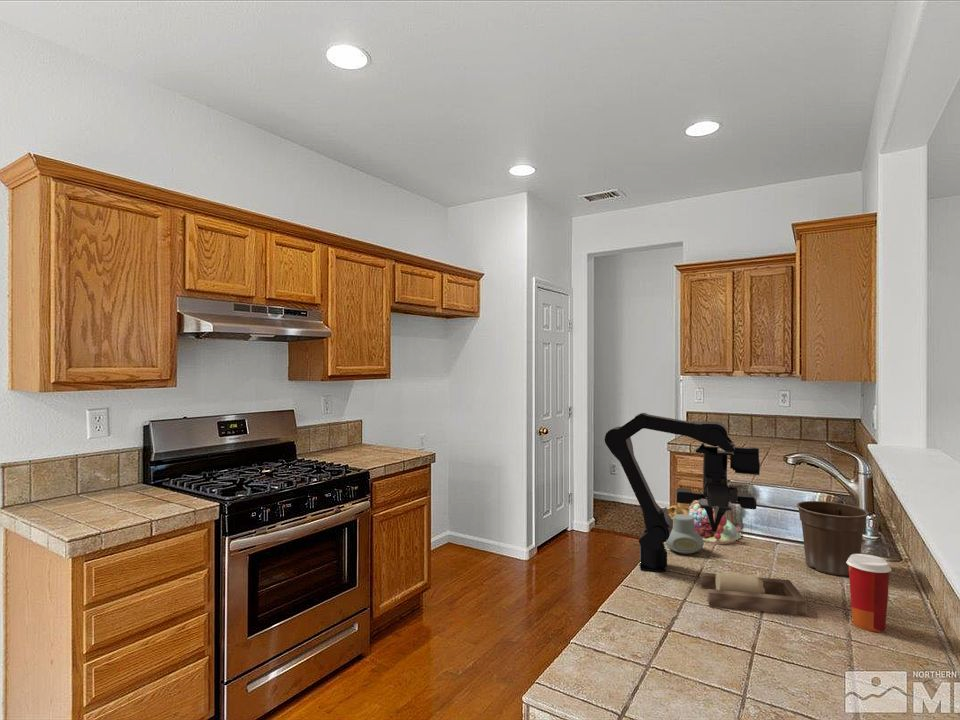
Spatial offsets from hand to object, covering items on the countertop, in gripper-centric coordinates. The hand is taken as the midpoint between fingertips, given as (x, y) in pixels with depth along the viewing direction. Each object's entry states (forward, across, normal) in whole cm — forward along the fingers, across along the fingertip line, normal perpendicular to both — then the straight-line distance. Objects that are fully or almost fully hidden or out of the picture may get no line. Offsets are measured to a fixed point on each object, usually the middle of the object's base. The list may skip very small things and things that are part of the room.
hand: (714, 531), depth 140 cm
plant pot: (+12, +31, +16) cm, 37 cm away
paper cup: (+12, +28, -18) cm, 35 cm away
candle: (+9, -1, -12) cm, 15 cm away
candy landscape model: (+12, +1, +40) cm, 42 cm away
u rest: (+12, +6, -12) cm, 17 cm away
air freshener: (+12, -6, +18) cm, 23 cm away
